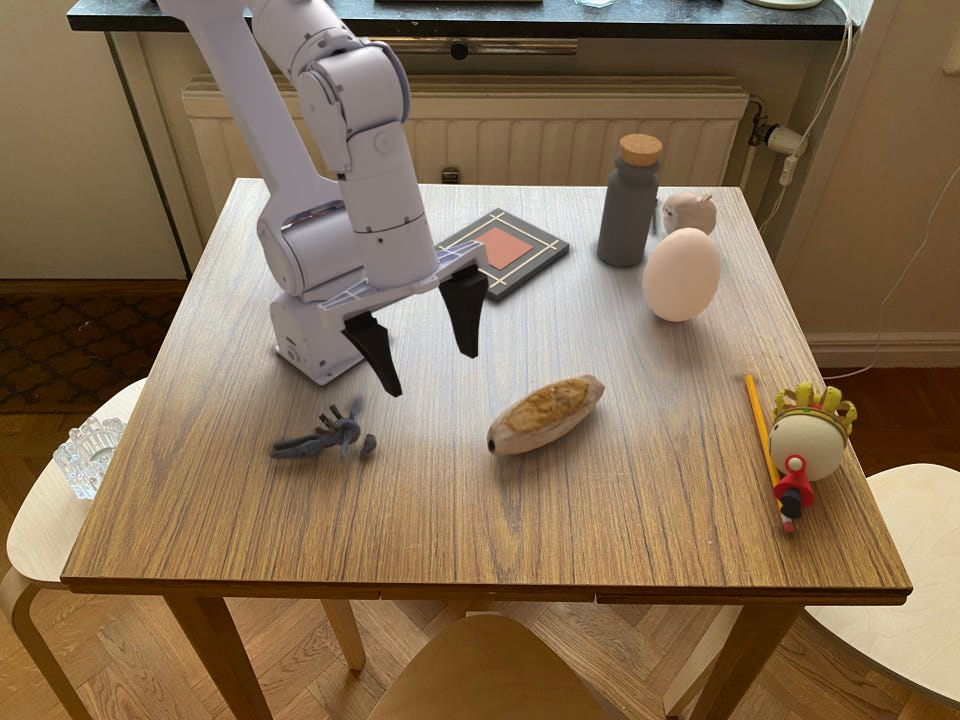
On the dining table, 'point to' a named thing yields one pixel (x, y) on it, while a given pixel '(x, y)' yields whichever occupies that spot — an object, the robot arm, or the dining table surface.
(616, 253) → the bottle
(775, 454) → the toy
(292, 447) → the figurine
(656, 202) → the screw
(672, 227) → the beige apple
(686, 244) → the egg
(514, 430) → the tan oval piece
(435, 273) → the robot arm
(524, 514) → the dining table surface
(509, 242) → the board
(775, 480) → the pencil
